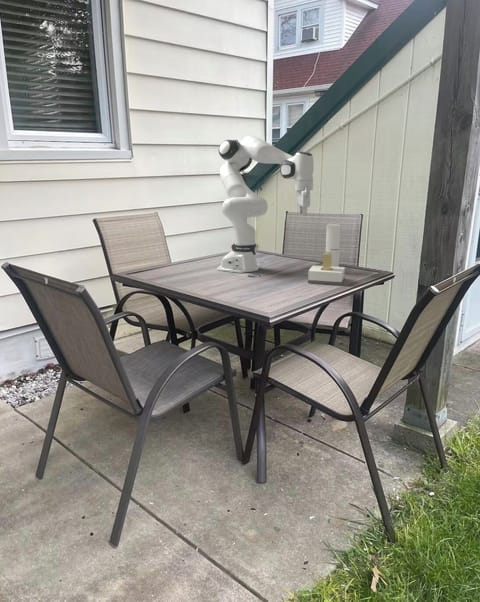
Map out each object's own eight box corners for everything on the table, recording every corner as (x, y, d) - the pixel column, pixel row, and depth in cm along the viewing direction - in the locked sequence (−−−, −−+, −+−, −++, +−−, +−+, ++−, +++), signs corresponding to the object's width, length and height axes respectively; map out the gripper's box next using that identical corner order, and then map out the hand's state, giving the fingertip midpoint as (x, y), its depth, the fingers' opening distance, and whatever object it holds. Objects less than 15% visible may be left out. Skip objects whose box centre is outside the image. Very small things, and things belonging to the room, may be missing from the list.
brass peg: (322, 278, 234) (323, 254, 231) (322, 276, 238) (323, 253, 234) (330, 279, 233) (331, 254, 230) (330, 277, 237) (331, 253, 234)
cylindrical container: (338, 273, 250) (340, 225, 243) (324, 273, 252) (326, 225, 244) (338, 270, 257) (340, 224, 250) (324, 270, 258) (326, 223, 251)
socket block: (308, 282, 232) (308, 270, 231) (312, 276, 244) (312, 265, 243) (341, 285, 228) (342, 272, 226) (344, 278, 240) (344, 267, 238)
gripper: (313, 187, 225) (312, 217, 229) (307, 185, 244) (306, 212, 248) (300, 187, 225) (299, 217, 228) (294, 185, 244) (294, 212, 248)
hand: (303, 214), depth 238 cm, fingers open, 8 cm apart
